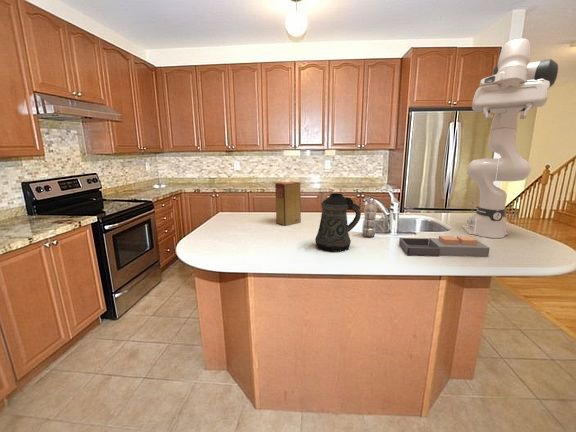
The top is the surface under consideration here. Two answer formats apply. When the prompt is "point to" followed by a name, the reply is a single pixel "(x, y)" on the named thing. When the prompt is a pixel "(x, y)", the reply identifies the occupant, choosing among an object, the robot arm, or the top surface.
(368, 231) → the plastic bottle
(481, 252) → the plate
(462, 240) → the tile
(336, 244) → the beer stein
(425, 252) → the box
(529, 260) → the top surface
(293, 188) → the food packaging
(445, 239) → the tile
